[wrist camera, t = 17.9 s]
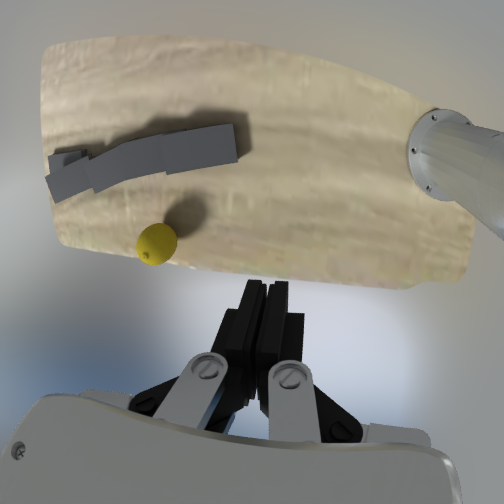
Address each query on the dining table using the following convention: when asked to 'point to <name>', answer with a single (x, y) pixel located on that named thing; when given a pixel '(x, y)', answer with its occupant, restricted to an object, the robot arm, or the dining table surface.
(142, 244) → the lemon
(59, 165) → the domino
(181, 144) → the domino
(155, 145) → the domino
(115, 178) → the domino
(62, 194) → the domino
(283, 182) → the dining table surface
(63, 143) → the dining table surface
